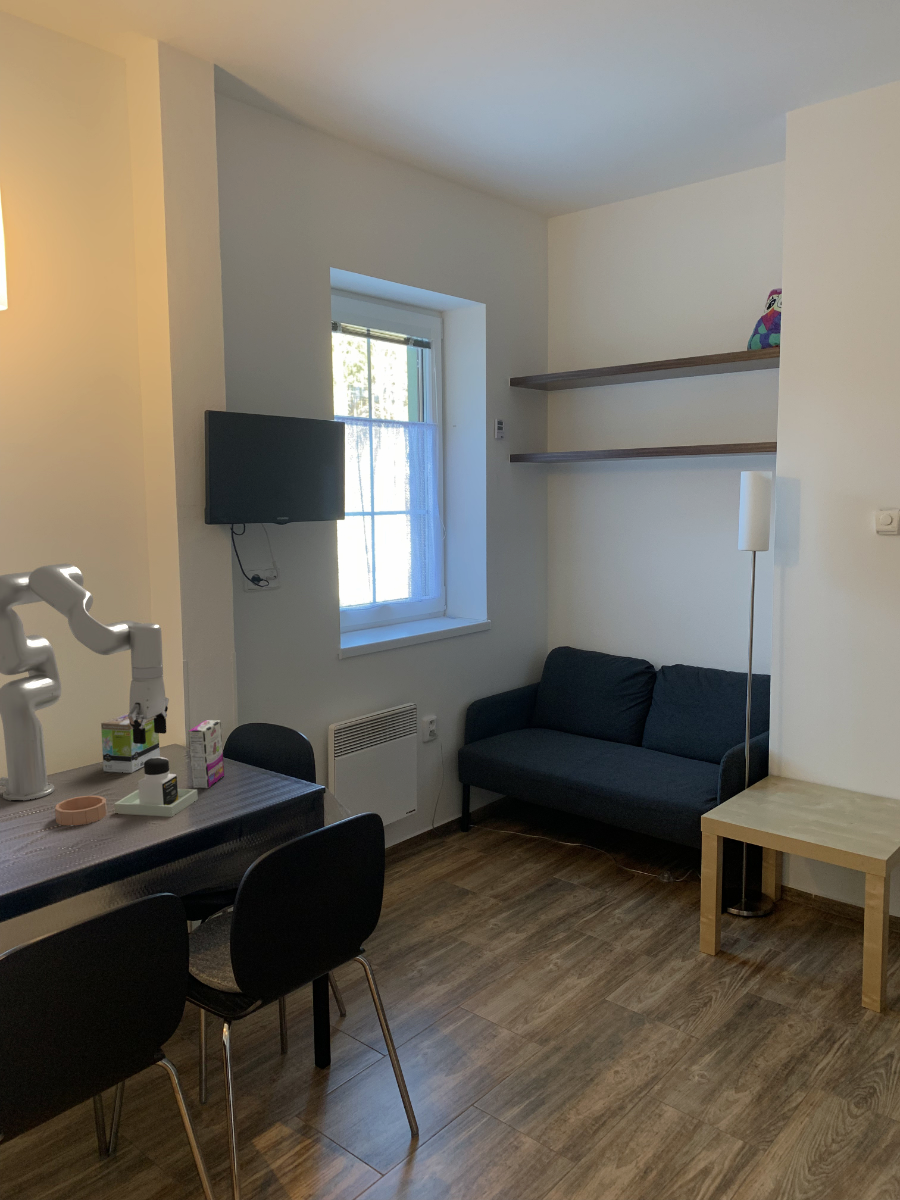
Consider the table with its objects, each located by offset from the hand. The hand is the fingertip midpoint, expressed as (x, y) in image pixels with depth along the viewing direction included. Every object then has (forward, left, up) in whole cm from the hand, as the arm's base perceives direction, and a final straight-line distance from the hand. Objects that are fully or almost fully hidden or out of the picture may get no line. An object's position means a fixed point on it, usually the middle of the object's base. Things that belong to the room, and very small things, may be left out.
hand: (150, 738), depth 231 cm
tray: (+1, 0, -18) cm, 18 cm away
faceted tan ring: (-14, -10, -18) cm, 25 cm away
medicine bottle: (+1, 0, -18) cm, 18 cm away
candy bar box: (+5, +20, -18) cm, 27 cm away
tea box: (-26, +32, -18) cm, 45 cm away
